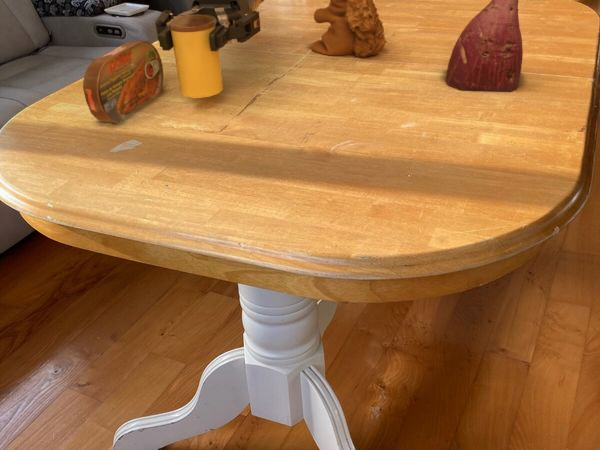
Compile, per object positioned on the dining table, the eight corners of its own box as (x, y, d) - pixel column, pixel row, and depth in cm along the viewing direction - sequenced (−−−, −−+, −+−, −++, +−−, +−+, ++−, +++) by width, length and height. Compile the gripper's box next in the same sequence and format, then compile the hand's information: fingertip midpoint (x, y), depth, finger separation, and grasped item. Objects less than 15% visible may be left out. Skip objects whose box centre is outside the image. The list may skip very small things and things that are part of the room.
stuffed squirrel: (348, 37, 105) (348, -42, 98) (403, 55, 96) (408, -31, 88) (303, 48, 101) (300, -34, 93) (357, 68, 91) (358, -21, 84)
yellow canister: (173, 97, 76) (161, 27, 70) (188, 81, 80) (177, 14, 75) (216, 99, 75) (207, 27, 70) (228, 82, 79) (221, 14, 74)
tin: (109, 134, 74) (94, 69, 69) (88, 131, 75) (72, 67, 70) (169, 91, 86) (159, 33, 81) (150, 90, 86) (139, 32, 82)
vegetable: (497, 89, 90) (534, -13, 84) (525, 106, 81) (568, -7, 75) (433, 76, 89) (465, -30, 82) (453, 92, 79) (491, -26, 73)
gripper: (174, -20, 84) (126, 11, 70) (271, -20, 82) (242, 11, 68) (182, 33, 88) (138, 71, 75) (275, 34, 86) (247, 74, 72)
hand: (188, 42), depth 71 cm, fingers closed on yellow canister, 5 cm apart
